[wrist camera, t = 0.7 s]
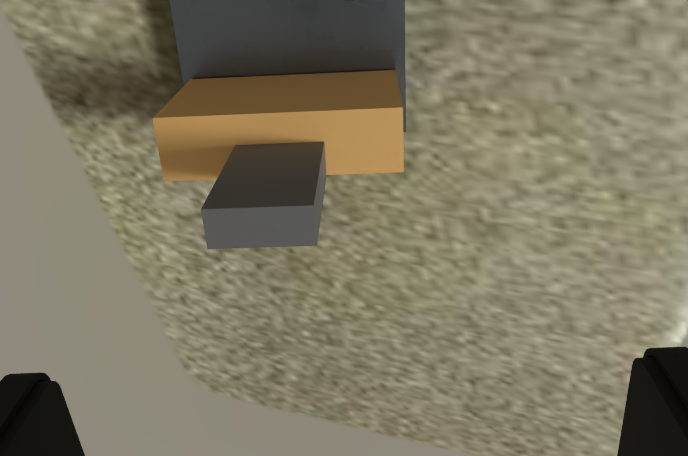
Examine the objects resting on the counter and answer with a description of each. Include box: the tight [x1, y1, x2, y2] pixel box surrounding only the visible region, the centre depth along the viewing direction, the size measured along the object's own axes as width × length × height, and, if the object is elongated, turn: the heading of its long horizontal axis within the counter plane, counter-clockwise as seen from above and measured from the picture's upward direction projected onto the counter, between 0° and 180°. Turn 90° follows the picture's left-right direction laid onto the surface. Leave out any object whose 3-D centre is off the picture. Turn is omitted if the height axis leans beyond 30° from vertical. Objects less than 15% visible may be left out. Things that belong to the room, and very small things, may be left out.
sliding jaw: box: [152, 70, 404, 249], centre depth 29 cm, size 3×11×14 cm, turn 93°
